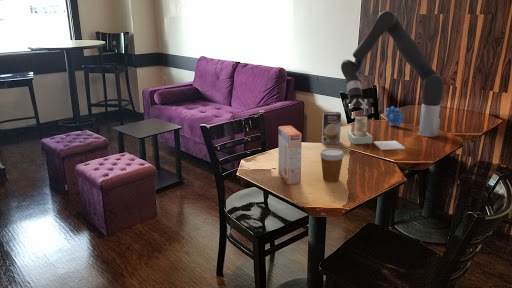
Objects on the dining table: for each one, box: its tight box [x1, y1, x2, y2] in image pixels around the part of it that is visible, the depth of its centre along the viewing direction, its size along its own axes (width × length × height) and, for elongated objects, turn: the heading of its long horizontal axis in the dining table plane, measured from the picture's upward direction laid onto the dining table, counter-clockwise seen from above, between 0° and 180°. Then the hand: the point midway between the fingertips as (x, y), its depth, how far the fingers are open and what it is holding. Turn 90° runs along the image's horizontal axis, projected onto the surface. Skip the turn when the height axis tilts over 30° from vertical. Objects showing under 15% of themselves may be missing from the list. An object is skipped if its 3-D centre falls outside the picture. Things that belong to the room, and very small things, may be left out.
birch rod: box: [353, 115, 368, 137], centre depth 208 cm, size 5×5×13 cm
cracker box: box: [277, 125, 303, 185], centre depth 160 cm, size 14×6×21 cm, turn 12°
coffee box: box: [321, 111, 342, 145], centre depth 206 cm, size 9×6×16 cm
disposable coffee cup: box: [319, 147, 345, 183], centre depth 158 cm, size 10×10×12 cm
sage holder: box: [347, 131, 373, 145], centre depth 209 cm, size 10×10×4 cm
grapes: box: [384, 105, 404, 127], centre depth 235 cm, size 12×7×12 cm, turn 47°
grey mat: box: [372, 140, 406, 151], centre depth 200 cm, size 12×12×1 cm
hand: (359, 115), depth 209 cm, fingers open, 8 cm apart
